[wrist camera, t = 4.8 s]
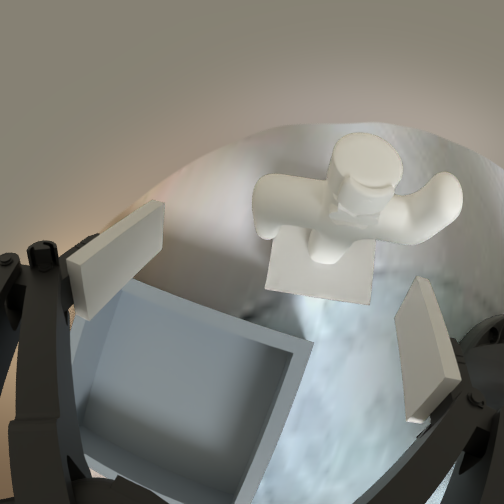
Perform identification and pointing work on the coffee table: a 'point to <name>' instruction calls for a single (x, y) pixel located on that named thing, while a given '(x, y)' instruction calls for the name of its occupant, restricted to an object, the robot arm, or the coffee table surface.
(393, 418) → the coffee table surface
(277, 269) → the figurine
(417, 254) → the coffee table surface
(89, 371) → the tray
